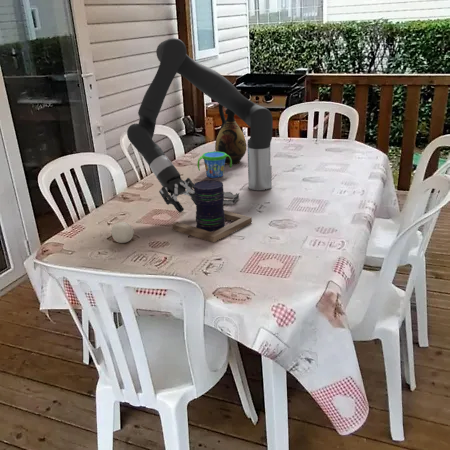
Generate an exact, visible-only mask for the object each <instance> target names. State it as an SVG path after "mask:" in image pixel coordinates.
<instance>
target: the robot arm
mask: <svg viewBox="0 0 450 450" xmlns="http://www.w3.org/2000/svg"><path fill="white" fill-rule="evenodd" d="M187 52H188V51H187V47H186V44H185V43H184V42H183V41H182V40H181V39H179V38H176V37H172V38H168V39H166V40H162V42H160V43H159V44H158V45H157V48H156V57H157V59H158V61H159V65H158V69H157V72H156V73H155V76H154V77H153V78H152V81H151V83H150V84H149V87H148V88H147V89H146V91H145V94H144V96H143V97H142V100H141V103H140V106H139V109H138V110H137V111H138V112H137V114H138V117H139V120H138V123H131V125H130V126H128V127H127V131H126V135H127V136H126V137H127V139H128V140H129V142H130V143H131V144H132V146H133V147H134V148H135V149H136V151H137V152H138V153H140V155H141V156H142V158H143V159H144V160H145V162H146V163H147V165H148V166H149V168H150V169H151V172H152V173H153V175H154V176H155V178H156V179H157V180H158V182H159V184H160V185H161V186H162V187H161V188H160V190H159V192H158V193H159V195H160V196H161V197H162V199H163V200H164V202H165V204H166V205H168V206H169V205H172V206H173V207H174V208H175V209H176V211H177V212H179V213H182V212H184V210H185V209H184V207H183V206H182V204H181V203H180V201H179V200H178V196H180V195H181V196H182V195H184V196H188V197H190V199H191V201H192V202H193V203H194V204H195V206H196V202H195V195H194V192H195V191H194V189H195V188H194V184H195V183H193V181H192V180H191V178H190V177H187V178H186V179H184V180H183V179H182V177H181V173H180V172H179V171H178V170H177V168H176V167H175V165H174V163H173V162H172V161H171V160H170V159H169V157H168V155H166V154H165V152H164V151H163V150H162V148H161V147H160V146H159V145H158V143H156V142H155V141H154V140H153V137H154V134H155V131H156V123H157V118H158V116H159V114H160V113H161V112H160V111H161V108H162V106H163V103H164V101H165V98H166V97H167V96H166V95H167V94H168V91H169V89H170V86H171V85H172V83H173V81H174V78H175V77H176V74H178V75H180V76H182V77H183V78H185V79H186V80H187V81H188V82H189V83H190V84H192V85H193V86H194V87H196V88H197V89H198V90H199V91H201V92H202V93H203V94H204V95H206V96H208V97H209V98H210V99H211V100H212V101H214V102H216V103H217V104H218V105H219V104H220V105H222V106H223V107H224V108H225V109H227V108H228V109H230V110H231V111H233V112H234V113H235V115H236V116H237V117H238V118H240V119H241V120H242V122H244V123H245V124H246V125H247V126H248V127H249V128H250V133H249V134H250V136H249V138H248V139H247V176H248V177H247V178H248V180H247V181H248V182H247V183H248V185H247V186H248V188H249V190H253V191H264V190H265V189H266V190H269V189H272V188H273V187H272V186H273V185H272V184H273V183H272V182H273V181H272V179H273V176H272V175H273V174H272V173H273V171H272V165H271V143H272V140H273V127H274V126H273V125H274V124H273V121H274V119H273V114H272V112H271V111H270V110H269V109H268V108H266V107H264V106H262V105H258V104H257V103H255V102H254V101H251V100H250V99H248V98H247V97H246V96H244V95H243V94H242V93H241V92H240V91H239V90H238V88H237V87H236V86H235V85H234V84H233V83H232V82H230V81H229V80H228V79H227V78H226V77H225V76H223V75H222V74H220V73H219V72H218V71H217V70H215V69H212V68H211V67H209V66H206V65H204V64H202V63H199V62H197V61H195V60H194V59H193V58H192V57H190V56H189V55H188V54H187Z"/></svg>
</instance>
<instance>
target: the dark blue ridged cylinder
mask: <svg viewBox="0 0 450 450" xmlns="http://www.w3.org/2000/svg"><path fill="white" fill-rule="evenodd" d="M193 184H194V188H195V189H193V190H194V191H195V192H194V195H195V202H196V205H195V207H196V208H195V210H196V211H195V221H196V228H199V229H203V230H206V231H209V232H212V231H213V232H215V231H217V230H219V229H221V228H223V227H224V226H226V225H225V221H226V219H225V215H224V204H223V200H225V197H224V192H225V191H224V183H223V182H222V181H220V180H216V179H207V180H200V181H197V182H195V183H193Z"/></svg>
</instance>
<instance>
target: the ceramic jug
mask: <svg viewBox="0 0 450 450" xmlns="http://www.w3.org/2000/svg"><path fill="white" fill-rule="evenodd" d="M223 107H224V106H222V105H220V104H219V103H218V113H219V117H220V121H221V125H220V129H219V132H218V135H217V136H216V139H215V144H214V149H215V152H224V153H226V154H227V155H229V156H230V158H231V160H232V166H233V165H239V164H240V163H241V161H242V159H243V158H244V156H245V154H246V153H247V141H246V138H245V135H244V132H243V131H242V129H241V127H240V126H239V124H238V123H237V121H236V120H235V115H236V114H235V113H234V112H233V111H231V110H230V109H228V108H226V110H225V112H224V109H223ZM224 113H225V114H224ZM225 115H227V116H226V118H225ZM230 158H229V157H228V156H227V157H226V159H225V165H227V166H228V165H229V166H230Z"/></svg>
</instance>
